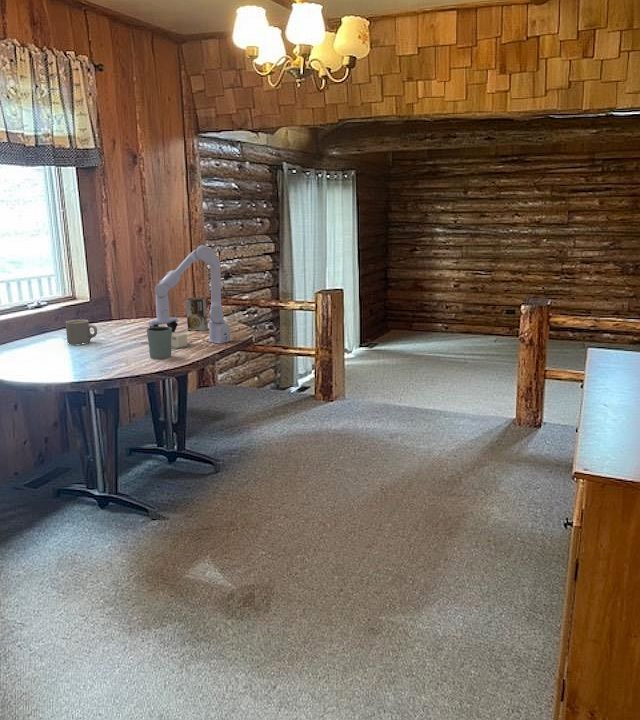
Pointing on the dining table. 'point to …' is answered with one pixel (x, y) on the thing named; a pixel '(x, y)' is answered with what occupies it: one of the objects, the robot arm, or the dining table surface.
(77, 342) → the coffee mug
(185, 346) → the mat
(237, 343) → the dining table surface
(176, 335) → the cream rectangular block
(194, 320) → the coffee box
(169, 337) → the green tapered cup
